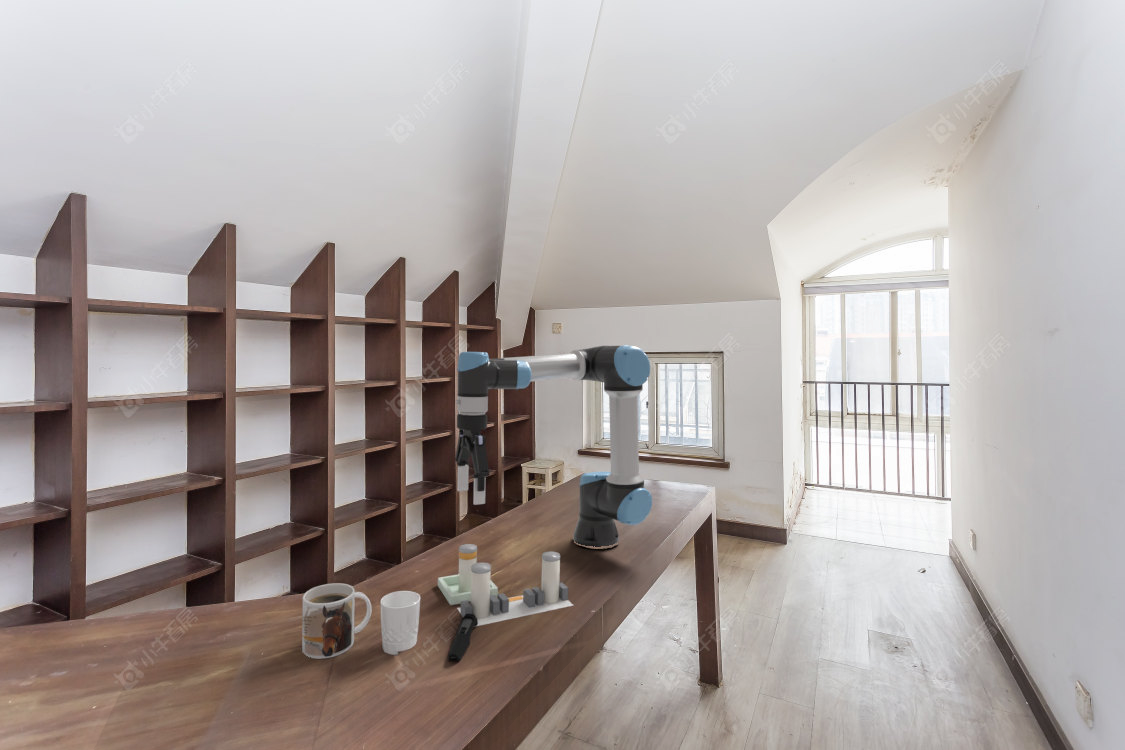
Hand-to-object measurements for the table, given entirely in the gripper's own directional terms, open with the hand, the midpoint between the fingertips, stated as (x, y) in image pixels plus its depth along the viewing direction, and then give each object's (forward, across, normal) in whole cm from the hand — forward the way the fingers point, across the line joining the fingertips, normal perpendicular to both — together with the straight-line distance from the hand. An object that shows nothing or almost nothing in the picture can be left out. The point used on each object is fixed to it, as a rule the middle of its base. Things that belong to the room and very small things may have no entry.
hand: (470, 497), depth 136 cm
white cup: (+25, +18, -20) cm, 37 cm away
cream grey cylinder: (+24, +13, +17) cm, 32 cm away
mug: (+25, +12, -32) cm, 43 cm away
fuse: (+24, +13, -1) cm, 27 cm away
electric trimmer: (+24, +23, -8) cm, 35 cm away
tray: (+25, 0, 0) cm, 25 cm away
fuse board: (+25, +13, +8) cm, 29 cm away
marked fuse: (+24, 0, 0) cm, 24 cm away
